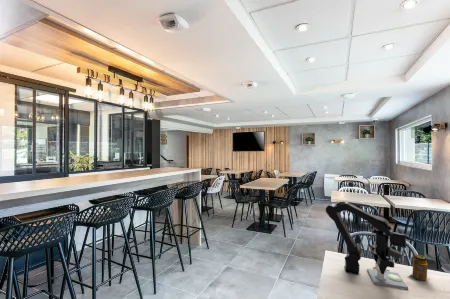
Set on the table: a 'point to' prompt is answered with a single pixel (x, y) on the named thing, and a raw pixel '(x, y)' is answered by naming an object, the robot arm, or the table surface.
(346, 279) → the table surface
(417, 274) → the condiment
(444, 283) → the table surface
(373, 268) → the cream rounded dome
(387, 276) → the post board
